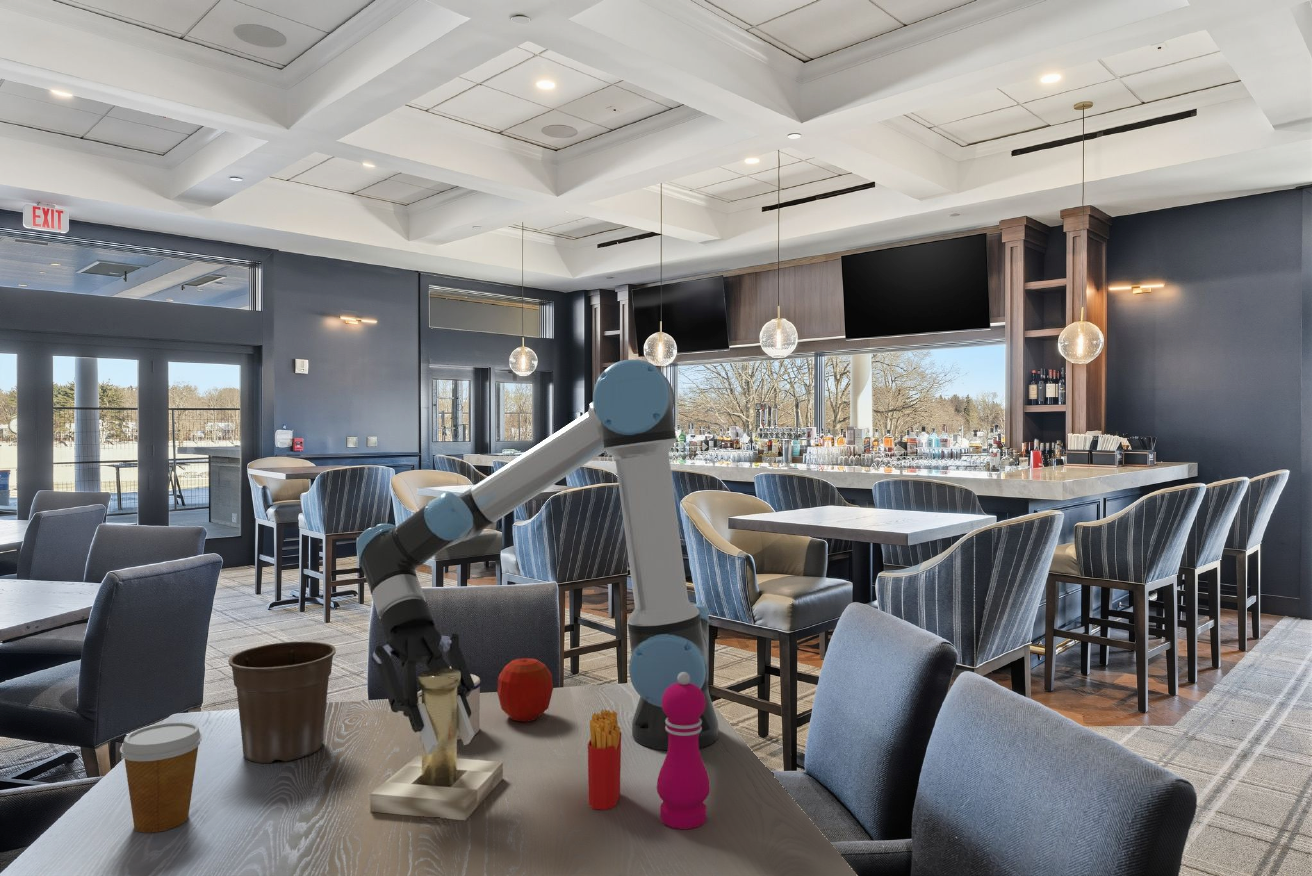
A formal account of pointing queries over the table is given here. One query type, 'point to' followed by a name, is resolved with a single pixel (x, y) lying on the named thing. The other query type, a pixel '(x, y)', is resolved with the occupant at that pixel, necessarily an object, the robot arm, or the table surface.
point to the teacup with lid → (471, 705)
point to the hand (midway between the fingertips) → (451, 744)
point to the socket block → (437, 790)
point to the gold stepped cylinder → (440, 725)
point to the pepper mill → (683, 757)
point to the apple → (525, 689)
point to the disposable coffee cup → (161, 773)
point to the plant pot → (282, 698)
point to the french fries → (604, 760)
